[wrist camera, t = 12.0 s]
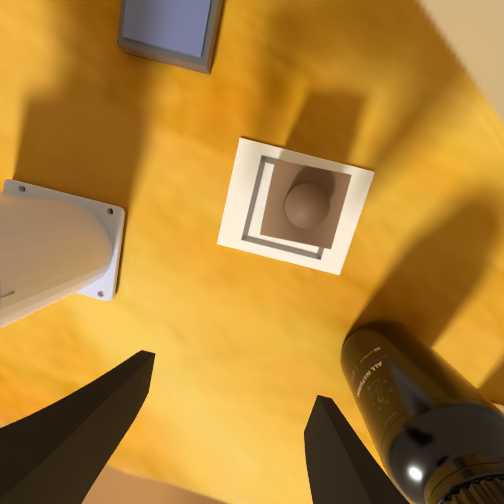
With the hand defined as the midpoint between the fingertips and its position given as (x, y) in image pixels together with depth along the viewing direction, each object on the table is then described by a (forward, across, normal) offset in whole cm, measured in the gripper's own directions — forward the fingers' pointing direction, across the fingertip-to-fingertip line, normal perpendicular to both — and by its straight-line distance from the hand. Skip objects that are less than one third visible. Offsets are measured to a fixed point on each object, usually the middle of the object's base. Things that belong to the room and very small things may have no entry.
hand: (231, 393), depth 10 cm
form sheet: (+10, -2, -8) cm, 13 cm away
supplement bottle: (+10, -12, +2) cm, 16 cm away
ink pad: (+10, +10, -18) cm, 23 cm away
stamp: (+10, -2, -8) cm, 13 cm away
